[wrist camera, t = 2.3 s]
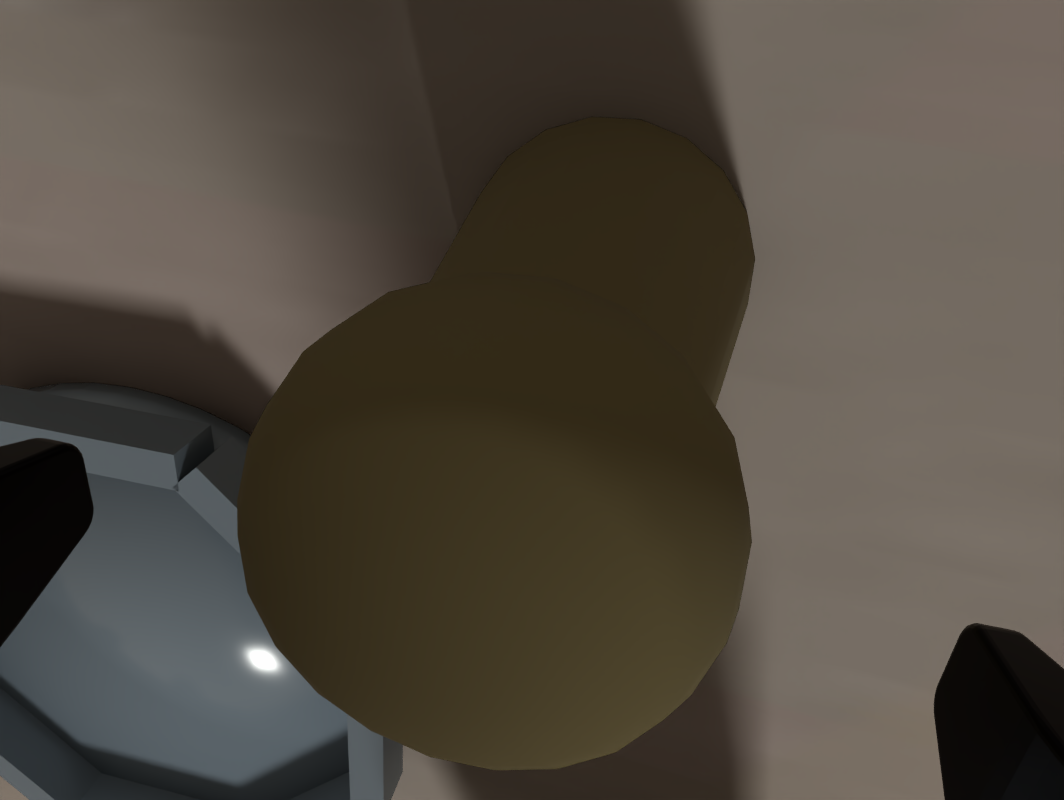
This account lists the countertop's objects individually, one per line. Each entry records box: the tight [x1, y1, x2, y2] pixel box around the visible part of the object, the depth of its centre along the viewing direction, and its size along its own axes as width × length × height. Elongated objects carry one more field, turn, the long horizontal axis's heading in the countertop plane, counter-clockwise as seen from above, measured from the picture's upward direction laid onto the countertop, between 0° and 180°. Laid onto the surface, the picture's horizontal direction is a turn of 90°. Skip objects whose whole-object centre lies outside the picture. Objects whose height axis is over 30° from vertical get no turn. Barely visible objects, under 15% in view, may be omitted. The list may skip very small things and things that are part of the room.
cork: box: [237, 117, 755, 770], centre depth 11 cm, size 6×6×11 cm
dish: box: [0, 383, 403, 800], centre depth 23 cm, size 16×16×2 cm
